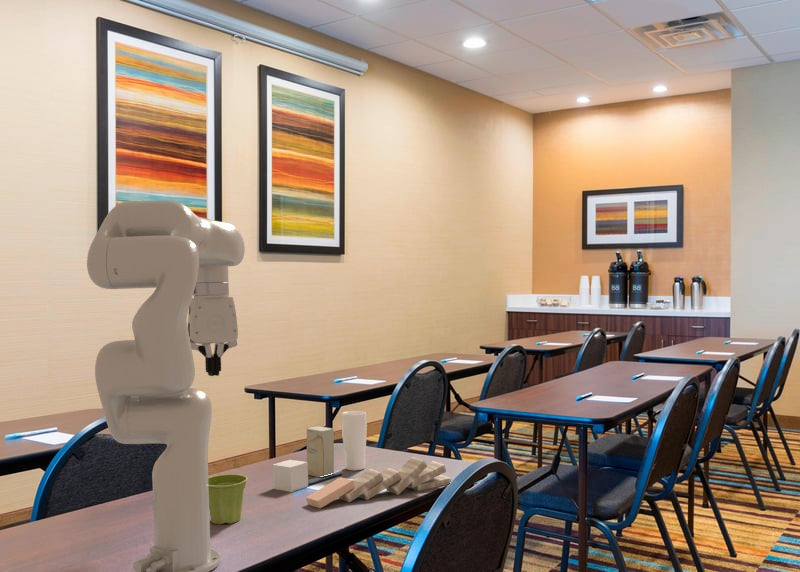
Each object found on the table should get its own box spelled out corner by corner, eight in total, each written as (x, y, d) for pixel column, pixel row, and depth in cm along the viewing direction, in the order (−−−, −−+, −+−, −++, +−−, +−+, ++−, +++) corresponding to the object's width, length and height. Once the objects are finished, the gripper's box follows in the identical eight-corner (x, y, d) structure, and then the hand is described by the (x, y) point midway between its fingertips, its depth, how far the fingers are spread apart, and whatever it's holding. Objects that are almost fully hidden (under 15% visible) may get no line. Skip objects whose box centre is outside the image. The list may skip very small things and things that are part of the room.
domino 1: (317, 500, 166) (352, 480, 173) (305, 497, 170) (340, 477, 176) (320, 508, 167) (354, 487, 173) (307, 504, 170) (342, 484, 177)
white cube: (308, 486, 187) (307, 462, 187) (291, 492, 182) (290, 467, 182) (290, 483, 190) (289, 459, 190) (273, 489, 185) (272, 464, 185)
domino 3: (364, 493, 172) (399, 471, 177) (354, 488, 177) (388, 467, 181) (366, 500, 173) (401, 478, 177) (356, 495, 177) (390, 474, 182)
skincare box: (306, 474, 198) (305, 428, 198) (318, 471, 201) (317, 425, 201) (322, 478, 194) (321, 430, 194) (335, 474, 197) (334, 428, 197)
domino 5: (410, 480, 178) (444, 464, 183) (399, 476, 182) (433, 460, 188) (412, 487, 178) (446, 471, 184) (401, 483, 183) (434, 467, 188)
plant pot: (258, 517, 162) (256, 476, 162) (227, 530, 154) (225, 487, 154) (225, 511, 167) (224, 472, 167) (193, 523, 159) (192, 482, 159)
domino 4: (394, 489, 175) (423, 460, 179) (383, 484, 179) (412, 456, 184) (398, 495, 176) (427, 466, 180) (387, 490, 180) (416, 462, 184)
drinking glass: (340, 467, 205) (338, 411, 205) (364, 464, 207) (362, 409, 207) (345, 472, 199) (344, 415, 199) (370, 470, 201) (369, 413, 201)
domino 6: (417, 485, 180) (450, 478, 185) (405, 480, 184) (438, 474, 189) (417, 492, 180) (451, 485, 185) (405, 488, 184) (438, 481, 189)
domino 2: (346, 495, 170) (381, 472, 175) (336, 491, 175) (370, 468, 180) (349, 502, 171) (383, 479, 176) (338, 498, 175) (372, 475, 180)
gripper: (180, 291, 159) (183, 379, 159) (249, 290, 166) (252, 374, 166) (172, 292, 165) (174, 376, 165) (239, 290, 173) (241, 371, 172)
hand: (213, 375), depth 166 cm, fingers closed
